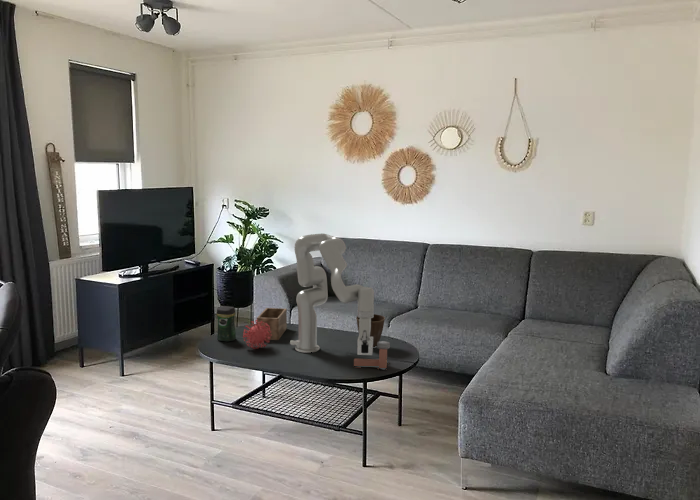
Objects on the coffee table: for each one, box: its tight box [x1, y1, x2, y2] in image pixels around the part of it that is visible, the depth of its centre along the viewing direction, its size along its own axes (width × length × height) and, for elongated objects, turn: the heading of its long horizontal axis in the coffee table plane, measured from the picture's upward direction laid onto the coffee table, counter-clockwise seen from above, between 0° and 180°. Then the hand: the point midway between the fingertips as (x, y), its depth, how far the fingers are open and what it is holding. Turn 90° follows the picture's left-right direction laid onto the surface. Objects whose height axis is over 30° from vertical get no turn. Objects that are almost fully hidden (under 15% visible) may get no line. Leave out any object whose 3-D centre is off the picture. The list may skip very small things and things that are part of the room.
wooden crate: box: [256, 307, 288, 341], centre depth 319 cm, size 12×22×12 cm, turn 175°
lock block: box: [356, 335, 374, 356], centre depth 269 cm, size 7×7×7 cm
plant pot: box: [356, 313, 386, 347], centre depth 299 cm, size 15×15×16 cm
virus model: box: [242, 319, 272, 350], centre depth 294 cm, size 15×15×15 cm
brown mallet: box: [353, 340, 391, 369], centre depth 269 cm, size 17×7×12 cm, turn 85°
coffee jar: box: [216, 305, 237, 342], centre depth 307 cm, size 10×8×19 cm
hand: (365, 350), depth 269 cm, fingers closed on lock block, 6 cm apart
